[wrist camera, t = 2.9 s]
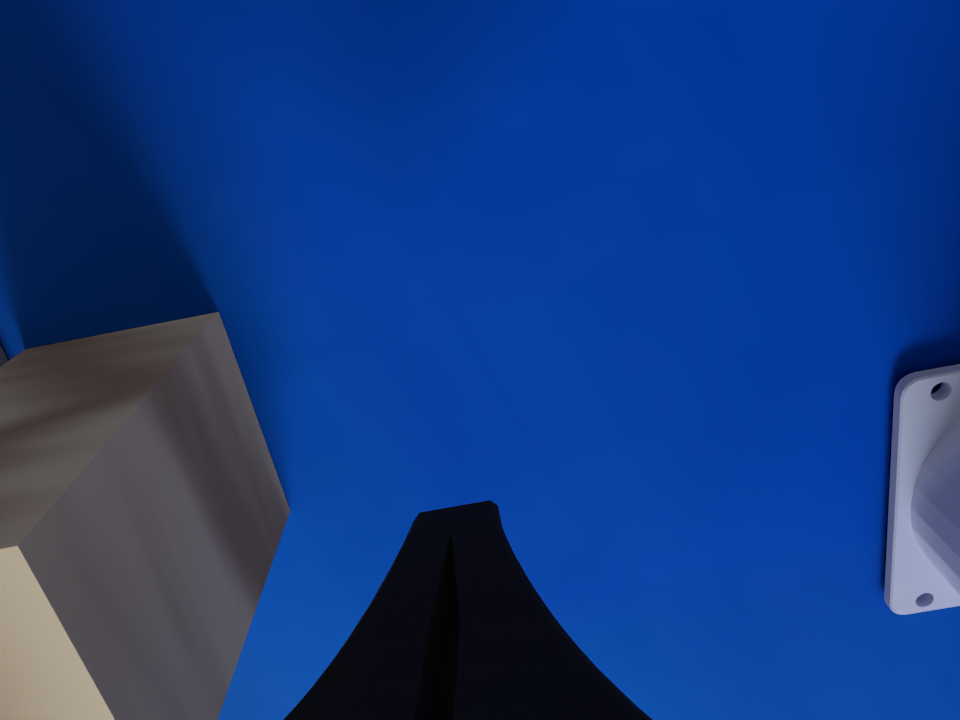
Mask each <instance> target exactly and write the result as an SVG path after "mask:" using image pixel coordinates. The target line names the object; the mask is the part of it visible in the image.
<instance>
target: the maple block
mask: <svg viewBox="0 0 960 720" xmlns="http://www.w3.org/2000/svg"><path fill="white" fill-rule="evenodd" d="M289 512H290V509H289V506H288V503H287V500H286V497H285V495H284V492H283V489H282V486H281V484H280V481H279V478H278V475H277V472H276V470H275V467H274V464H273V461H272V458H271V456H270V453H269V450H268V447H267V445H266V442H265V439H264V436H263V433H262V431H261V428H260V425H259V422H258V420H257V417H256V414H255V411H254V408H253V406H252V403H251V400H250V397H249V394H248V392H247V389H246V386H245V383H244V381H243V378H242V375H241V372H240V369H239V367H238V364H237V361H236V358H235V355H234V353H233V350H232V347H231V344H230V342H229V339H228V336H227V333H226V330H225V328H224V325H223V322H222V319H221V317H220V314H219V312H215V313H210V314H205V315H200V316H195V317H189V318H184V319H179V320H174V321H169V322H164V323H158V324H153V325H148V326H143V327H138V328H133V329H127V330H122V331H117V332H112V333H107V334H101V335H96V336H91V337H86V338H81V339H76V340H70V341H65V342H60V343H55V344H50V345H45V346H39V347H34V348H29V349H25V350H23V351H22V352H21V353H19V354H18V355H16V356H15V357H14V358H12V359H11V360H9V361H8V362H7V363H5V364H4V365H3V366H1V367H0V720H217V719H218V716H219V713H220V711H221V708H222V705H223V702H224V699H225V696H226V693H227V691H228V688H229V685H230V682H231V679H232V676H233V673H234V670H235V668H236V665H237V662H238V659H239V656H240V653H241V650H242V647H243V645H244V642H245V639H246V636H247V633H248V630H249V627H250V624H251V622H252V619H253V616H254V613H255V610H256V607H257V604H258V601H259V599H260V596H261V593H262V590H263V587H264V584H265V581H266V578H267V576H268V573H269V570H270V567H271V564H272V561H273V558H274V555H275V553H276V550H277V547H278V544H279V541H280V538H281V535H282V532H283V530H284V527H285V524H286V521H287V518H288V515H289Z"/></svg>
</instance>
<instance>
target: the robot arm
mask: <svg viewBox="0 0 960 720" xmlns="http://www.w3.org/2000/svg"><path fill="white" fill-rule="evenodd" d="M941 382H942V385H941V388H940V389H939V390H938V391H937V392H935V393H932V394H930V393H931V391H932V388H933V387H934V386H935V385H936V384H939V383H941ZM921 594H923V595H921ZM920 595H921V596H920ZM884 599H885V602H886V604H887V605H888V606H889V608H890V609H891V610H892V611H893V612H894V613H896V614H899V615H902V614H912V613H918V612H924V611H930V610H937V609H943V608H949V607H955V606H960V364H957V365H951V366H946V367H940V368H934V369H929V370H923V371H918V372H913V373H911V374H908V375H906V376H905V377H903V378H902V379H901V380H900V381H899V382H898V384H897V385H896V388H895V392H894V408H893V428H892V448H891V469H890V489H889V510H888V530H887V551H886V571H885V592H884ZM284 720H652V719H651V718H650V717H649V716H648V715H646V714H645V713H644V712H643V711H642V710H640V709H639V708H638V707H637V706H636V705H635V704H634V703H633V702H632V701H631V700H630V699H629V698H628V697H627V696H626V695H624V694H623V693H622V692H621V691H620V690H619V689H618V688H617V687H616V686H615V685H614V684H613V683H612V682H611V681H610V680H609V679H608V678H607V677H606V676H605V675H604V674H603V673H602V672H601V671H600V670H599V669H598V668H597V667H596V666H595V665H594V664H593V663H592V662H591V661H590V659H589V658H588V657H587V656H586V655H585V654H584V653H583V652H582V651H581V649H580V648H579V647H578V646H577V645H576V644H575V642H574V641H573V640H572V639H571V638H570V636H569V635H568V634H567V633H566V632H565V630H564V629H563V628H562V627H561V625H560V624H559V623H558V621H557V620H556V619H555V617H554V616H553V615H552V613H551V612H550V611H549V609H548V608H547V606H546V605H545V603H544V602H543V601H542V599H541V598H540V596H539V595H538V593H537V592H536V590H535V589H534V587H533V586H532V584H531V582H530V581H529V579H528V578H527V576H526V574H525V572H524V571H523V569H522V567H521V565H520V564H519V562H518V560H517V558H516V557H515V555H514V553H513V551H512V549H511V547H510V545H509V542H508V540H507V538H506V536H505V533H504V531H503V528H502V524H501V519H500V515H499V510H498V505H496V504H495V503H493V502H492V501H490V500H489V501H484V502H478V503H472V504H467V505H461V506H455V507H450V508H444V509H438V510H433V511H427V512H421V513H419V514H418V516H417V517H416V518H415V520H414V522H413V524H412V526H411V529H410V531H409V533H408V535H407V537H406V539H405V541H404V543H403V545H402V547H401V549H400V551H399V553H398V555H397V557H396V559H395V561H394V563H393V565H392V567H391V569H390V570H389V572H388V574H387V576H386V577H385V579H384V581H383V583H382V585H381V586H380V588H379V590H378V592H377V593H376V595H375V597H374V599H373V600H372V602H371V604H370V605H369V607H368V609H367V610H366V612H365V613H364V615H363V616H362V618H361V619H360V621H359V623H358V624H357V626H356V627H355V629H354V630H353V632H352V633H351V635H350V637H349V638H348V640H347V641H346V643H345V644H344V645H343V647H342V648H341V650H340V651H339V652H338V654H337V655H336V657H335V658H334V659H333V661H332V662H331V663H330V665H329V666H328V668H327V669H326V670H325V671H324V673H323V674H322V675H321V677H320V678H319V679H318V680H317V682H316V683H315V684H314V686H313V687H312V688H311V689H310V690H309V692H308V693H307V694H306V695H305V696H304V698H303V699H302V700H301V701H300V702H299V703H298V704H297V706H296V707H295V708H294V709H293V710H292V711H291V712H290V713H289V714H288V715H287V717H286V718H285V719H284Z"/></svg>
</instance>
